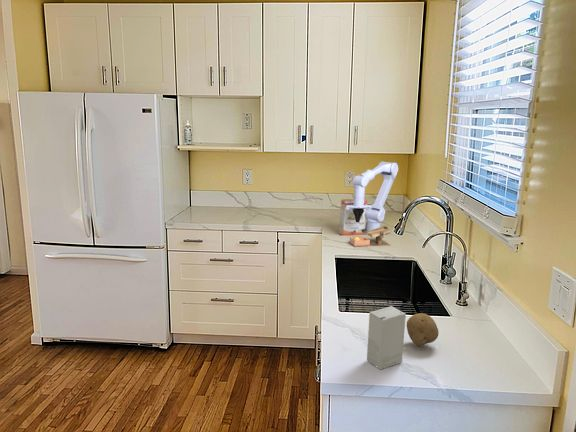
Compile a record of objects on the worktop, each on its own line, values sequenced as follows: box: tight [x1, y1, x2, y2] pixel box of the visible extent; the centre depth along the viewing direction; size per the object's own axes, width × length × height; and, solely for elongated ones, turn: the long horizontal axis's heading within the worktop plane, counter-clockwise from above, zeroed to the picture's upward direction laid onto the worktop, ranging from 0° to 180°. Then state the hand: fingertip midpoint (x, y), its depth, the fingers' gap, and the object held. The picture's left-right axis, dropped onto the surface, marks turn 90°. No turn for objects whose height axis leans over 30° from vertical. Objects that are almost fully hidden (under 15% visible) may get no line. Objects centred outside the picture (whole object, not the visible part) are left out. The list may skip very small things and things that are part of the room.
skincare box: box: [366, 305, 407, 370], centre depth 127 cm, size 8×6×15 cm
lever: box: [361, 224, 391, 239], centre depth 252 cm, size 13×11×4 cm
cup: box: [349, 236, 371, 247], centre depth 247 cm, size 7×8×3 cm
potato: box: [406, 312, 440, 348], centre depth 138 cm, size 9×9×10 cm
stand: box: [348, 232, 392, 248], centre depth 248 cm, size 9×21×8 cm, turn 103°
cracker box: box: [338, 198, 368, 236], centre depth 270 cm, size 14×6×21 cm, turn 109°
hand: (357, 222), depth 258 cm, fingers closed
